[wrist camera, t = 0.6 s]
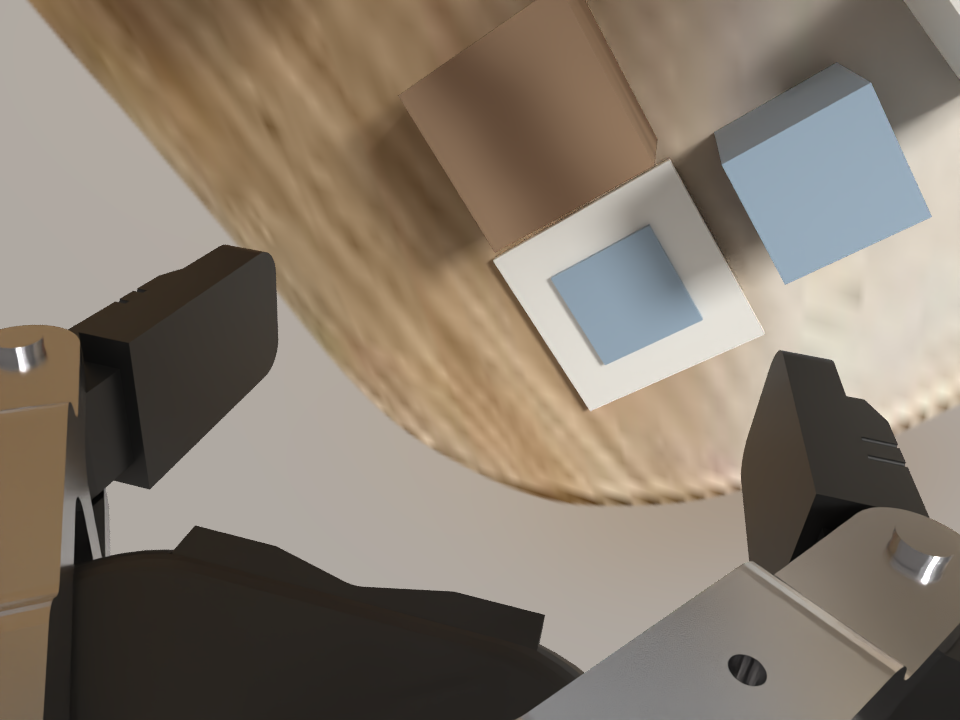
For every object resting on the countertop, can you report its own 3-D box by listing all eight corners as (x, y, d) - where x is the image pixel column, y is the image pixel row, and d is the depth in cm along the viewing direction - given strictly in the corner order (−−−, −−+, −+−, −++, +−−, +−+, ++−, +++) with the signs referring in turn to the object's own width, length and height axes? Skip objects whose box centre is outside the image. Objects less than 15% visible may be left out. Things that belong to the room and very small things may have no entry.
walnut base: (575, -18, 30) (558, -16, 26) (657, 138, 32) (654, 165, 28) (434, 78, 33) (398, 95, 29) (517, 217, 35) (494, 252, 31)
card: (669, 157, 32) (669, 161, 32) (764, 330, 35) (765, 337, 34) (494, 257, 36) (491, 262, 35) (591, 407, 38) (589, 414, 38)
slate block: (836, 62, 29) (871, 82, 24) (888, 174, 31) (931, 216, 25) (714, 132, 31) (721, 164, 26) (767, 234, 33) (785, 284, 28)
